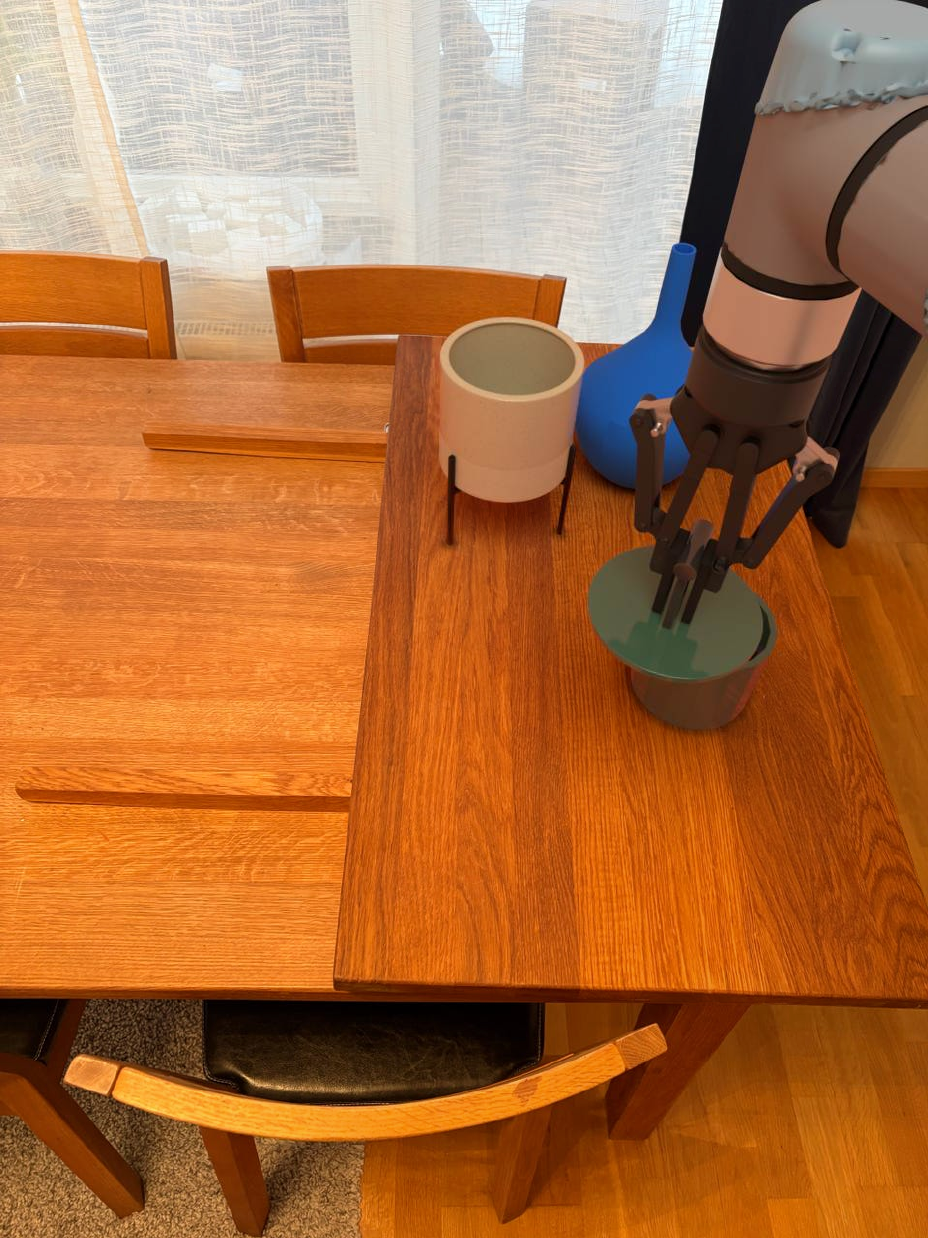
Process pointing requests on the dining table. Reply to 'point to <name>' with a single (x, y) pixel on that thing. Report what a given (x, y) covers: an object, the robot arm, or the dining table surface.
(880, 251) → the robot arm
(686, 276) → the vase
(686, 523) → the dining table surface
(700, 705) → the cylinder
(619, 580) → the lid
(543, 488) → the planter
